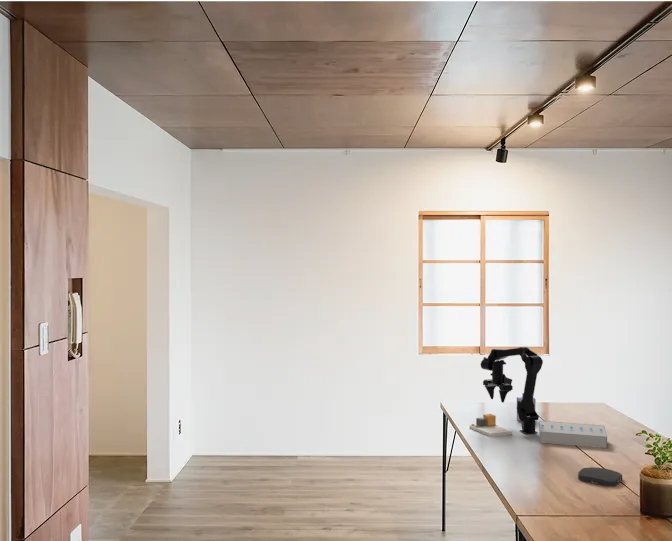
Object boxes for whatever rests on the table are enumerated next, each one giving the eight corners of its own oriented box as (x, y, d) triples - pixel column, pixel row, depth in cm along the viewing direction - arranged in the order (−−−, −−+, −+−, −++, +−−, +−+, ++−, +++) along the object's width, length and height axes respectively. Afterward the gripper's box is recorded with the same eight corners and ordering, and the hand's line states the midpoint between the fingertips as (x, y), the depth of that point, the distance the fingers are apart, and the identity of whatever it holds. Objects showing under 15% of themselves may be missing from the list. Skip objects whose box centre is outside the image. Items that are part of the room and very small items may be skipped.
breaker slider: (485, 425, 330) (485, 419, 330) (480, 426, 328) (480, 419, 328) (481, 424, 333) (481, 417, 333) (476, 424, 332) (476, 418, 332)
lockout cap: (495, 425, 332) (495, 415, 332) (488, 426, 330) (488, 416, 330) (490, 423, 336) (490, 413, 336) (483, 424, 334) (483, 414, 334)
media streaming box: (587, 471, 262) (587, 464, 262) (624, 479, 253) (624, 471, 253) (575, 480, 251) (575, 473, 251) (614, 488, 242) (614, 480, 242)
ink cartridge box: (534, 419, 352) (534, 393, 352) (536, 421, 347) (536, 395, 347) (516, 418, 354) (516, 392, 354) (517, 420, 348) (517, 394, 348)
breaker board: (512, 434, 320) (512, 429, 320) (490, 436, 315) (490, 432, 315) (490, 425, 337) (490, 421, 337) (469, 427, 332) (469, 423, 332)
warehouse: (539, 443, 305) (539, 427, 305) (539, 435, 319) (539, 420, 319) (607, 448, 296) (607, 432, 296) (603, 441, 310) (603, 425, 310)
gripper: (521, 373, 337) (520, 403, 338) (499, 368, 355) (498, 396, 355) (503, 375, 333) (503, 404, 333) (482, 369, 350) (482, 397, 351)
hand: (497, 400), depth 343 cm, fingers open, 9 cm apart
